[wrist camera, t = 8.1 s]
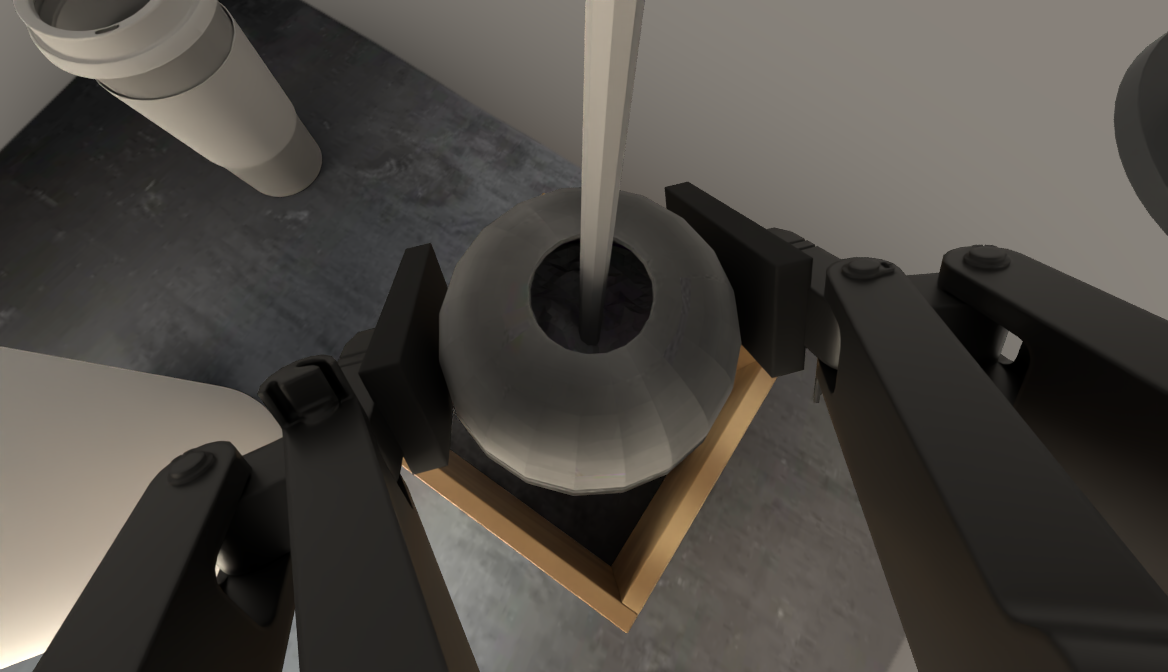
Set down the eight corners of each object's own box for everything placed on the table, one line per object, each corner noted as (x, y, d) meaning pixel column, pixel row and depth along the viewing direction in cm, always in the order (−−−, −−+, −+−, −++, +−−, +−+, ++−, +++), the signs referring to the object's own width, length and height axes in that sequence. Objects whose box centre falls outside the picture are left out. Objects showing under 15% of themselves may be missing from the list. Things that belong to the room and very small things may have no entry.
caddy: (550, 244, 28) (543, 191, 23) (747, 371, 27) (794, 348, 21) (405, 436, 26) (355, 431, 20) (615, 590, 24) (627, 634, 18)
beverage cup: (500, 464, 22) (-71, 572, 3) (519, 315, 24) (252, -268, 4) (655, 480, 22) (1200, 706, 3) (664, 329, 24) (1035, -211, 4)
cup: (240, 229, 28) (6, 74, 17) (215, 139, 30) (-18, -60, 18) (355, 188, 29) (208, 12, 18) (325, 102, 31) (170, -113, 19)
